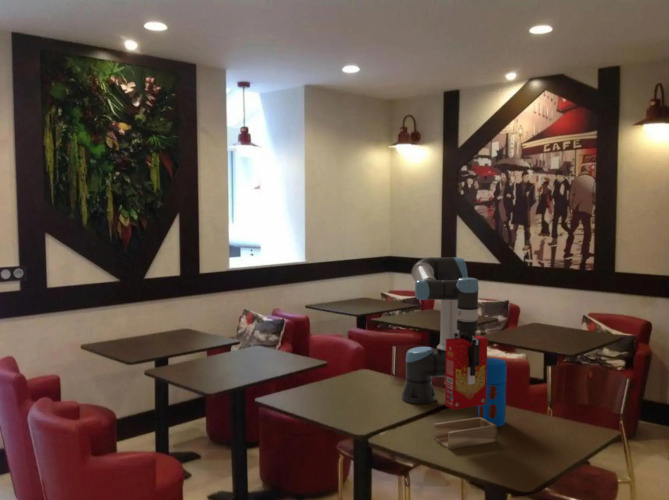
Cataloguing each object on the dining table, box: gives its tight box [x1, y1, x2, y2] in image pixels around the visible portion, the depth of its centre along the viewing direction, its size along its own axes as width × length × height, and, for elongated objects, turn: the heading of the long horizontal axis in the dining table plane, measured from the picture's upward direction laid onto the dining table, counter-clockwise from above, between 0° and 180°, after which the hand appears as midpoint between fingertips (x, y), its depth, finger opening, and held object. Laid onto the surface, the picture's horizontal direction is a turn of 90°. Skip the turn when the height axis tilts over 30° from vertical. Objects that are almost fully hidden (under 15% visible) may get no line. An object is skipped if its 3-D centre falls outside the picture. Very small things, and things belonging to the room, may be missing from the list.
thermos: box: [477, 357, 507, 427], centre depth 246 cm, size 11×11×25 cm
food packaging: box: [444, 335, 488, 411], centre depth 226 cm, size 15×5×25 cm, turn 115°
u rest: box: [433, 416, 498, 450], centre depth 227 cm, size 10×20×6 cm, turn 111°
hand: (466, 381), depth 226 cm, fingers closed on food packaging, 5 cm apart
